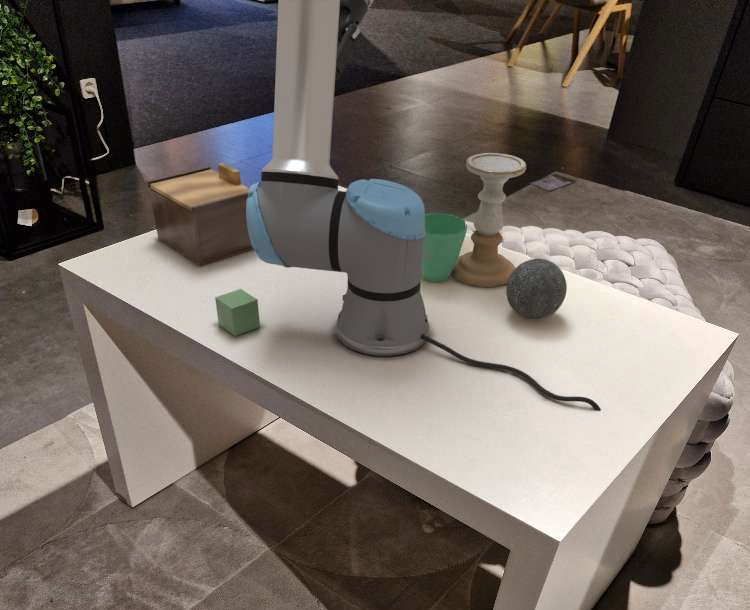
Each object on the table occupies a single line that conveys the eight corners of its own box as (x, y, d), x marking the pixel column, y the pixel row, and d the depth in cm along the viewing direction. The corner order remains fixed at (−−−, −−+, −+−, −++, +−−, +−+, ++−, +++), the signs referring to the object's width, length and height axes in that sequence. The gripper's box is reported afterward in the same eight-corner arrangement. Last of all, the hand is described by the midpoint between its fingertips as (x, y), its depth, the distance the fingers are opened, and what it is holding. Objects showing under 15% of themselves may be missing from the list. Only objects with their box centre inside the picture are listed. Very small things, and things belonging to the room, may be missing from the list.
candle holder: (527, 281, 138) (546, 169, 125) (468, 291, 135) (481, 177, 121) (495, 255, 146) (509, 147, 133) (439, 264, 143) (448, 154, 129)
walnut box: (263, 248, 147) (258, 190, 139) (202, 267, 140) (193, 207, 132) (215, 221, 156) (208, 165, 149) (156, 237, 149) (145, 180, 142)
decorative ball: (561, 333, 124) (572, 277, 117) (501, 327, 125) (509, 271, 118) (559, 305, 131) (571, 251, 125) (503, 300, 132) (511, 246, 126)
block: (260, 326, 123) (257, 299, 120) (235, 336, 121) (231, 308, 118) (243, 315, 126) (240, 288, 123) (218, 324, 124) (214, 297, 120)
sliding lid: (254, 194, 141) (253, 177, 138) (191, 211, 134) (188, 193, 132) (212, 173, 149) (209, 156, 147) (150, 188, 142) (147, 170, 140)
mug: (472, 278, 139) (478, 225, 132) (435, 293, 134) (440, 239, 127) (418, 252, 147) (421, 201, 140) (381, 266, 142) (383, 214, 135)
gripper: (399, 18, 138) (334, 126, 141) (330, 2, 150) (270, 102, 153) (379, -14, 132) (311, 100, 135) (308, -28, 144) (247, 77, 146)
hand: (289, 101), depth 144 cm, fingers open, 8 cm apart
